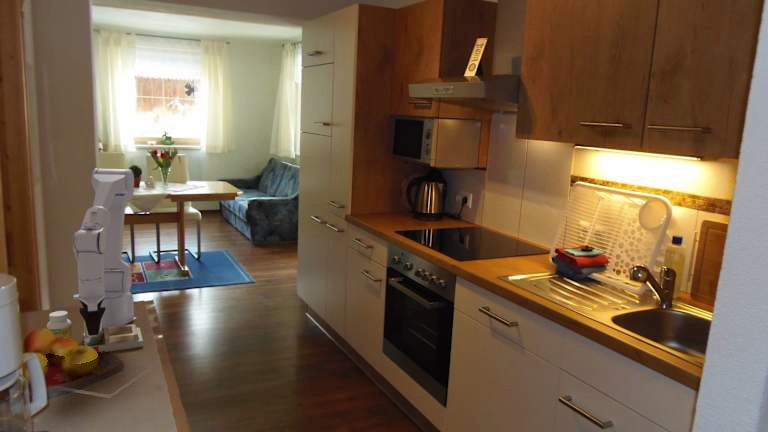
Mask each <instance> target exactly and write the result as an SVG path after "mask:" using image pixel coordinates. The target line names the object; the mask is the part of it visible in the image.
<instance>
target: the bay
mask: <svg viewBox="0 0 768 432" xmlns="http://www.w3.org/2000/svg"><path fill="white" fill-rule="evenodd" d="M136 329H137V333H138V340H135V341H127V342H120V343H112V344H105V340H104V331H102V336H103V345H97V346H98V347H99V349H100V350H101V351H105V352H104V353H106V352H107V353H108V352H113V351H114V352H115V351H116V352H117V351H121V350H123V351H124V350H130V349H136V348H143V347H144V340H143V336H142V332H141V328H140V327H136ZM83 344H85V334H84V333H82V345H83ZM97 346H91V347H97Z"/></svg>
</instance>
